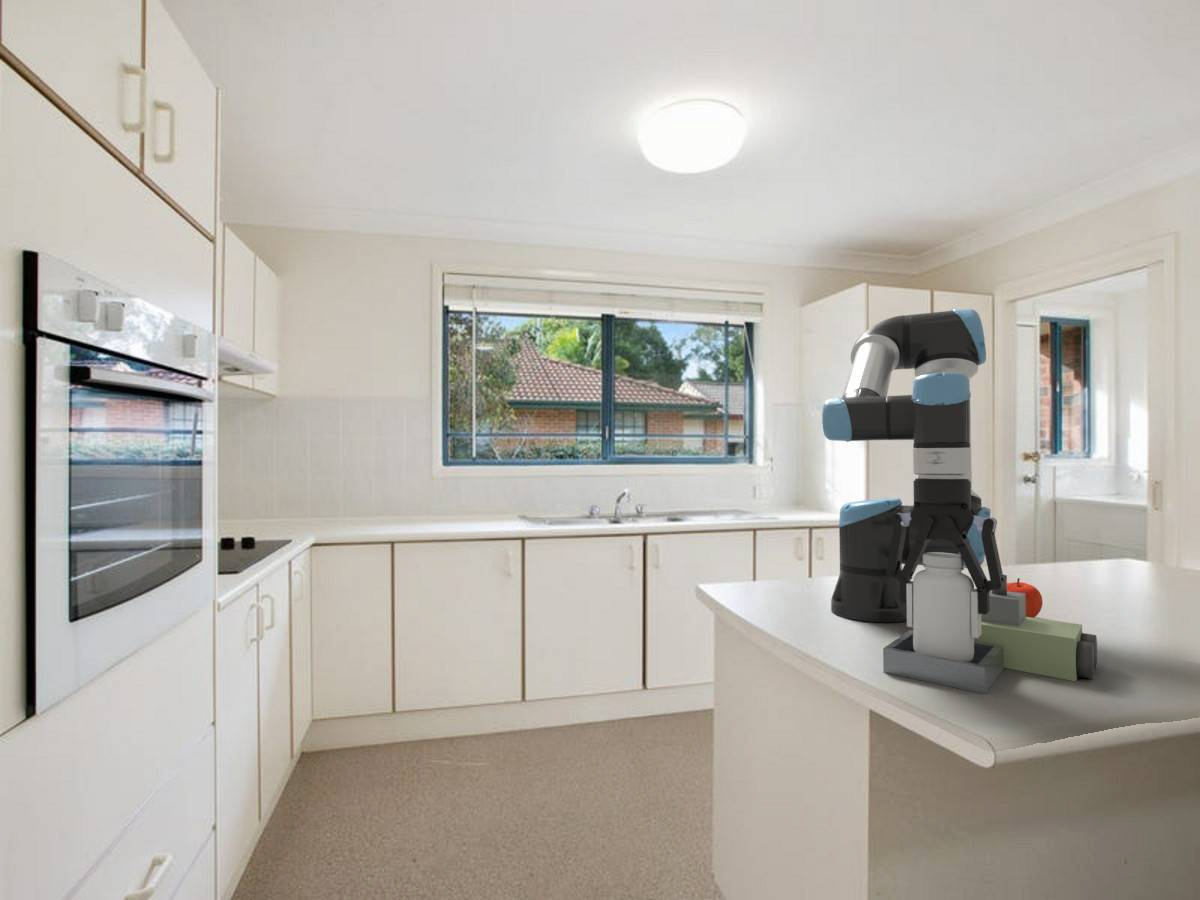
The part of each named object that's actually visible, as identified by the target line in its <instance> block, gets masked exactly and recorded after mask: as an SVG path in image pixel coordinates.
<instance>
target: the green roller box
mask: <svg viewBox="0 0 1200 900" xmlns="http://www.w3.org/2000/svg"><path fill="white" fill-rule="evenodd" d="M1003 577H1004V582H1005V583H1004V586H1002V587H1001V588H1000V589H995V590H990V593H989V601H990V602H989V603H990V605H989V606H990V610H989V612H988V613H987V614H986V615H985V614H981V624H982V634H981V635H980V636H979V637H978V638H974V641H976V642H982V643H988V644H994V645H1000V646H1003V656H1004V668H1005V669H1009V670H1015V671H1019V672H1023V673H1024V672H1025V673H1030V674H1035V675H1040V676H1045V677H1051V678H1056V679H1060V680H1067V681H1072V682H1077V680H1078V677H1079V678H1084V679H1089V680H1094V674H1095V670H1097V665H1098V637H1097V635H1096V634H1092V633H1086V632H1085V633H1084V632H1083V624H1080V623H1073V622H1065V621H1059V620H1052V619H1044V618H1037V617H1034V618H1031V617H1026V606H1025V593H1017V592H1008V591H1007V583H1008V575H1006V574H1003Z"/></svg>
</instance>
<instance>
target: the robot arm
mask: <svg viewBox="0 0 1200 900" xmlns="http://www.w3.org/2000/svg"><path fill="white" fill-rule="evenodd" d="M982 323H983V322H982V320H981V317H980V314H979V313H978V311H976V310H974V309H972V308H969V309H968V308H967V309H955V308H952V309H950V310H946V311H936V312H926V313H918V314H917V313H915V314H906V315H904V314H903V315H896V316H893V317H889V318H887V319H883V320H882V321H880V322H878V323H875V324H874V325H873V326H872V327H870V328H868V329H866V330H865V331H864V332H863V333H862V334H861V335H860V336H859V337H858V338H857V340H856V341H855V342H854V344H853V347H852V349H851V352H850V361H851V368H850V371H849V375H848V377H847V380H846V383H845V386H844V389H843V391H842V395H841V397H840V396H839V397H836V398H830V399H826V400H825V401H824V403H823V405H822V414H821V415H822V417H821V418H822V421H821V423H822V432H823V435H824V436H825V438H826V439H827V440H830V441H834V442H835V441H839V442H841V441H843V442H847V443H848V442H860V441H862V442H864V441H865V442H866V441H913V446H912V447H913V449H912V451H913V452H912V455H913V457H912V460H913V461H912V463H913V474H914V475H917V478H914V480H913V505H903V501H902V500H901V498H899V497H890V498H875V499H866V500H865V499H864V500H858V501H851V502H847V503H845V504H843V505H842V506H841V508H840V510H839V521H838V522H839V523H838V527H837V528H839V531H838V532H839V576H838V578H837V582H836V583H835V584H836V585H835V587H834V591H833V593H832V596H831V600H830V611H831V612H832V613H834V614H836V615H838V616H841V617H843V618H847V619H851V620H858V621H862V622H863V621H865V622H872V623H873V622H875V623H899V622H906V627H908V628H913V581H912V579H913V576H914V575H915V571H917V570H916V569H917V567H918V566H923V554H924V553H927V552H943V553H953V554H958V555H961V556H962V559H963V568H964V569H967V571H968V573H969V575H970V578H971V579H972V581H973V584H974V587H975V588H974V590H973V591H971V637H973V638H978V637H979V636H980V635H981V634H982V624H981V614H985V615H986V614H987V613H988V612H989V610H990V606H989V605H990V603H989V602H990V601H989V593H990V590H995V589H1000V588H1001V587H1002V586H1004V583H1005V582H1004V577H1003V575H1004V574H1003V570H1002V569H1003V568H1002V563H1001V559H1000V553H999V551H998V550H999V548H998V544H997V540H996V534H995V533H996V529H997V524H998V521H997V519H996V518H995V517H991V513H992V512H991V509H990V508H988V507H986V506H982V497H981V496H979V495H978V493H976V492H975V491H973V483H972V482H973V480H972V479H973V474H972V473H973V471H972V433H971V432H972V431H971V429H972V427H971V426H972V425H971V423H972V422H971V421H972V420H971V397H972V396H971V384H970V382H971V381H970V380H971V378H973V377H975V375H977V373H978V372H979V366H981V365H983V364H985V363H986V360H987V350H986V344H985V333H984V326H983V324H982ZM911 369H913V370H914V376H915V378H914V380H913V381H912V394H903V395H888V392H889V388H890V381H891V377H892V372H893V371H896V370H911ZM985 561H986V565H987V571H988V576H989V580H988V578H987V576H986V574H985V572H984V570H983V568H982V565H983V564H984V562H985Z"/></svg>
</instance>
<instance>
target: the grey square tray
mask: <svg viewBox="0 0 1200 900" xmlns="http://www.w3.org/2000/svg"><path fill="white" fill-rule="evenodd" d="M882 654H883V655H882V657H883V658H882V662H883V664H882V665H883V667H882V669H883V671H882V672H883V673H887V674H891V675H895V676H899V677H905V678H910V679H914V680H918V681H923V682H927V683H931V684H935V685H941V686H946V687H950V688H955V689H960V690H965V691H969V692H973V693H978V694H982V695H986V694H987V692H988V691H989V690H990V689H991V687H992V685H994V683H995V682H996V680H997V679H998V678H999V676H1000V675H1001V674H1002V672H1003V671H1004V670H1005V669H1004V656H1003V646H1000V645H994V644H988V643H982V642H976V641H974V657H973V659H972V660H971V661H969V662H962V661H957V660H952V659H947V658H941V657H936V656H931V655H926V654H921V653H916V652H915V651H914V647H913V629H909V630H908V631H907V632H905V633H903V634H901V636H899V637H898V638H896V639H895V640H893V641H892V642H890V643H888V644H887V645H885V646H884V647H883V649H882Z"/></svg>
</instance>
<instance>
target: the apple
mask: <svg viewBox="0 0 1200 900" xmlns="http://www.w3.org/2000/svg"><path fill="white" fill-rule="evenodd" d="M1020 581H1021V579H1020V577H1018V578H1017V581H1013V582H1007V591H1008V592H1017V593H1025V606H1026V617H1031V618H1037V616H1038V615H1039V614H1040V612H1041V610H1042V608H1043V602H1044V601H1043V596H1042V594H1041V592H1040V590H1039V589H1038V588H1037V587H1035V586H1034V585H1032V584H1028V583H1026V582H1022V581H1021V582H1020Z"/></svg>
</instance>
